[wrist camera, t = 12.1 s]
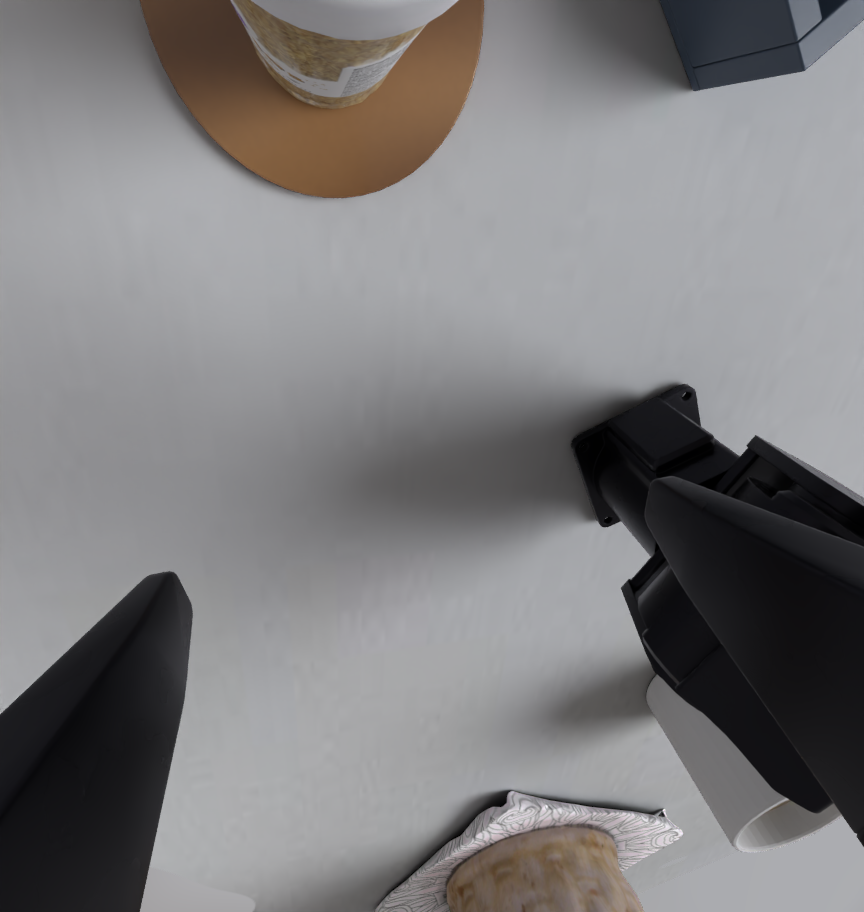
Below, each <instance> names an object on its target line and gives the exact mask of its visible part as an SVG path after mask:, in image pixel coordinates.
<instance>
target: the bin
mask: <svg viewBox="0 0 864 912" xmlns="http://www.w3.org/2000/svg"><path fill="white" fill-rule="evenodd" d="M660 3H661V6H662V8H663V11H664V14H665V16H666V19H667V22H668V24H669V27H670V30H671V32H672V35H673V38H674V40H675V43H676V46H677V48H678V51H679V54H680V57H681V59H682V62H683V65H684V67H685V70H686V73H687V75H688V78H689V81H690V83H691V86H692V89H693V91H698V90H703V89H708V88H714V87H719V86H725V85H730V84H736V83H741V82H747V81H752V80H758V79H764V78H769V77H775V76H780V75H786V74H791V73H797V72H802V71H805V70H806V69H807V68H808V67H810V66H811V65H812V64H813V63H814V62H815V61H816V60H818V59H819V58H820V57H821V56H822V55H823V54H825V53H826V52H827V51H828V50H829V49H830V48H832V47H833V46H834V45H835V44H836V43H837V42H839V41H840V40H841V39H842V38H843V37H844V36H846V35H847V34H848V33H849V32H850V31H851V30H853V29H854V28H855V27H856V26H857V25H858V24H859V23H861V22H862V21H863V20H864V0H660Z"/></svg>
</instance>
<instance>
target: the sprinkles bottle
mask: <svg viewBox="0 0 864 912" xmlns="http://www.w3.org/2000/svg"><path fill="white" fill-rule="evenodd" d="M230 1H231V3H232V5H233V7H234V8H235V10H236V12H237V14H238V16H239V18H240V19H241V21H242V23H243V25H244V27H245V29H246V31H247V32H248V34H249V36H250V38H251V40H252V42H253V46H254V48H255V50H256V53H257V55H258V56H259V58H260V60H261V61H262V63H263V65H264V66H265V68H266V69H267V71H268V72H269V73H270V74H271V75H272V77H273V78H274V79H275V80H276V81H277V82H278V83H279V84H280V85H281V86H282V87H283V88H284V89H285V90H286V91H288V92H289V93H290V94H291V95H293V96H294V97H295V98H297V99H298V100H300V101H302V102H304V103H307V104H310V105H313V106H316V107H319V108H329V109H340V108H344V107H348V106H351V105H356V104H359V103H361V102H363V101H364V100H365V99H366V98H367V97H368V96H369V95H370V94H372V93H373V92H375V91H376V90H377V89H378V88H379V86H380V85H381V84H382V83H383V81H384V80H385V78H386V77H387V75H388V73H389V71H390V70H391V69H392V67H393V66H394V65H395V63H396V62H397V61H398V59H399V58H400V57H401V56H402V54H403V53H404V52H405V50H406V49H407V48H408V47H409V45H410V44H411V43H412V41H413V40H414V39H415V38H416V37H417V35H418V34H419V33H420V32H421V31H422V29H423V28H424V27H425V26H426V25H427V23H428V22H430V21H432V20H433V19H435V18H437V17H438V16H440V15H442V14H443V13H444V12H445V11H447V10H448V9H449V8H450V7H451V6H453V5H454V4H455V3H456V2H457V1H459V0H230Z"/></svg>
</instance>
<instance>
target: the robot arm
mask: <svg viewBox="0 0 864 912" xmlns="http://www.w3.org/2000/svg"><path fill="white" fill-rule="evenodd" d="M685 392H686V394H685V395H684V396H683V397H682V395H683V394H684V393H685ZM681 397H682V398H681ZM582 443H585V444H584V445H583V446H582V447H579V446H580V445H581V444H582ZM747 447H748V448H747V449H746V451H745V452H744V453H743V454H742V455H741V456H739V455H737V454H736V453H734V452H733V451H731V450H730V449H729V448H727V447H726V446H724V445H723V444H722V443H720V442H719V441H717V440H716V439H715V438H714V436H713V435H712V434H710V433H709V432H708V431H706V430H705V429H703V428H702V427H701V424H700V417H699V411H698V404H697V398H696V392H695V389H693V388H692V387H690V386H689V385H687V384H682V385H679V386H677V387H675V388H673V389H671V390H669V391H667V392H665V393H663V394H661V395H659V396H657V397H655V398H653V399H651V400H649V401H647V402H645V403H643V404H641V405H639V406H637V407H635V408H633V409H631V410H629V411H627V412H624V413H622V414H620V415H618V416H616V417H614V418H612V419H610V420H608V421H606V422H604V423H602V424H600V425H598V426H596V427H594V428H592V429H590V430H588V431H586V432H584V433H582V434H580V435H578V436H577V437H575V438H574V439H573V441H572V443H571V448H572V451H573V454H574V457H575V459H576V462H577V465H578V468H579V471H580V474H581V477H582V480H583V482H584V485H585V488H586V491H587V494H588V497H589V500H590V503H591V506H592V508H593V511H594V514H595V517H596V520H597V521H598V523H599V524H600V525H601V526H602V527H609V526H611V525H613V524H615V523H618V522H620V521H622V523H623V524H624V525H625V526H626V527H627V529H628V530H629V531H630V532H631V533H632V535H633V536H634V537H635V538H636V539H637V541H638V542H639V543H640V544H641V545H642V547H643V548H644V549H645V550H646V551H647V553H648V554H649V555H650V556H651V558H650V559H649V560H648V561H647V562H646V564H645V565H644V566H643V567H642V568H641V569H640V570H639V571H638V573H637V574H636V575H635V576H634V577H633V578H632V579H629V580H628V581H627V582H626V583H625V584H624V585H623V586H622V587H621V590H622V592H623V595H624V597H625V600H626V603H627V605H628V608H629V611H630V613H631V616H632V618H633V621H634V624H635V626H636V629H637V631H638V634H639V637H640V639H641V642H642V645H643V647H644V650H645V652H646V654H647V657H648V659H649V661H650V663H651V665H652V668H653V670H654V671H655V673H656V674H657V675H658V676H659V677H661V678H662V679H663V680H664V681H665V682H666V683H667V685H668V686H669V687H670V688H671V689H672V690H673V691H674V692H675V693H676V694H678V695H679V696H680V697H681V698H682V699H683V700H685V701H686V702H687V703H688V704H690V705H691V706H693V707H694V708H695V709H697V710H698V711H700V712H702V713H703V714H704V715H705V716H706V717H707V718H708V719H709V720H711V721H712V722H713V723H714V724H715V725H716V726H717V727H718V728H719V729H720V730H721V731H722V732H723V733H724V734H725V735H726V736H727V737H728V738H729V739H730V740H731V742H732V743H733V744H734V745H735V746H736V747H737V748H738V749H739V750H740V752H741V753H742V754H743V755H744V756H745V757H746V759H747V760H748V761H749V762H750V763H751V764H752V766H753V767H754V768H755V769H756V770H757V771H758V773H759V774H760V775H761V776H762V777H763V779H764V780H765V781H766V782H767V783H768V784H769V786H770V787H771V788H772V789H773V790H775V791H776V792H777V793H779V794H781V795H782V796H784V797H786V798H787V799H789V800H791V801H792V802H794V803H796V804H797V805H799V806H801V807H802V808H804V809H806V810H808V811H810V812H812V813H816V814H819V813H821V812H822V811H824V810H825V809H827V808H828V807H830V806H831V805H833V804H835V806H836V807H837V809H838V810H839V812H840V813H841V814H842V816H843V817H844V819H845V820H846V821H847V823H848V824H849V826H850V827H851V829H852V830H853V831H854V833H857V838H858V839H859V841H860V842H861V843H862V845H863V846H864V498H863V497H862V496H860V495H858V494H857V493H855V492H853V491H852V490H850V489H849V488H847V487H845V486H844V485H842V484H840V483H839V482H837V481H835V480H834V479H832V478H831V477H829V476H827V475H826V474H824V473H822V472H821V471H819V470H817V469H815V468H814V467H812V466H810V465H808V464H807V463H805V462H803V461H801V460H799V459H798V458H796V457H794V456H792V455H790V454H789V453H787V452H785V451H783V450H782V449H780V448H778V447H776V446H774V445H773V444H771V443H769V442H767V441H765V440H764V439H762V438H760V437H758V436H756V435H755V437H754V438H753V439H752V440H751V441H750V442H749V443H748V445H747ZM606 517H607V518H606ZM605 518H606V519H605ZM192 618H193V611H192V605H191V602H190V600H189V598H188V596H187V594H186V592H185V590H184V588H183V586H182V584H181V582H180V580H179V578H178V576H177V575H176V574H175V573H174V572H171V571H168V572H163V573H157V574H152V575H149V576H147V577H146V578H144V579H143V580H142V581H141V582H140V583H139V584H138V585H137V586H136V587H135V588H134V589H133V590H132V591H131V592H129V593H128V594H127V595H126V596H125V597H124V598H123V599H122V600H121V601H120V602H119V603H118V604H117V605H116V606H115V607H114V608H113V609H111V610H110V611H109V612H108V613H107V614H106V615H105V616H104V617H103V618H102V619H101V620H100V621H99V622H98V623H97V624H96V625H95V626H93V627H92V628H91V629H90V630H89V631H88V632H87V633H86V634H85V635H84V636H83V637H82V638H81V639H80V640H79V641H78V642H77V643H75V644H74V645H73V646H72V647H71V648H70V649H69V650H68V651H67V652H66V653H65V654H64V655H63V656H62V657H61V658H60V659H58V660H57V661H56V662H55V663H54V664H53V665H52V666H51V667H50V668H49V669H48V670H47V671H46V672H45V673H44V674H43V675H42V676H40V677H39V678H38V679H37V680H36V681H35V682H34V683H33V684H32V685H31V686H30V687H29V688H28V689H27V690H26V691H25V692H24V693H22V694H21V695H20V696H19V697H18V698H17V699H16V700H15V701H14V702H13V703H12V704H11V705H10V706H9V707H8V708H7V709H5V710H4V711H3V712H2V713H1V714H0V912H140V908H141V903H142V898H143V894H144V889H145V884H146V879H147V874H148V870H149V865H150V861H151V856H152V851H153V846H154V842H155V837H156V832H157V828H158V823H159V818H160V813H161V809H162V804H163V799H164V795H165V790H166V785H167V780H168V776H169V771H170V766H171V762H172V757H173V752H174V747H175V743H176V738H177V733H178V729H179V724H180V719H181V714H182V709H183V704H184V699H185V691H186V682H187V671H188V660H189V650H190V639H191V628H192Z"/></svg>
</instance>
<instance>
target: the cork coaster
mask: <svg viewBox="0 0 864 912" xmlns="http://www.w3.org/2000/svg"><path fill="white" fill-rule="evenodd" d="M140 3H141V8H142V11H143V14H144V18H145V21H146V24H147V27H148V30H149V33H150V37H151V39H152V42H153V44H154V47H155V49H156V51H157V54H158V56H159V58H160V61H161V63H162V65H163V67H164V69H165V71H166V73H167V75H168V77H169V78H170V80H171V82H172V84H173V86H174V88H175V89H176V91H177V93H178V94H179V96H180V97H181V99H182V100H183V102H184V103H185V105H186V106H187V108H188V109H189V111H190V112H191V114H192V115H193V116H194V118H195V119H196V120H197V121H198V122H199V124H200V125H201V126H202V127H203V128H204V130H205V131H206V132H207V133H208V134H209V135H210V137H212V138H213V139H214V140H215V141H216V142H217V143H218V144H219V145H220V146H221V147H222V148H223V149H224V150H225V151H226V152H227V153H228V154H229V155H231V156H232V157H233V158H234V159H236V160H237V161H238V162H240V163H241V164H242V165H243V166H245V167H246V168H247V169H249V170H251V171H252V172H254V173H256V174H257V175H259V176H261V177H262V178H264V179H266V180H268V181H270V182H272V183H274V184H276V185H279V186H281V187H283V188H285V189H288V190H292V191H295V192H298V193H302V194H305V195H311V196H317V197H323V198H347V197H355V196H362V195H366V194H369V193H373V192H376V191H380V190H382V189H384V188H386V187H389V186H391V185H393V184H395V183H397V182H399V181H400V180H402V179H403V178H405V177H407V176H408V175H410V174H411V173H413V172H414V171H415V170H416V169H417V168H419V167H420V166H421V165H422V164H423V163H424V162H426V161H427V160H428V159H429V158H430V156H431V155H432V154H433V153H434V152H435V151H436V150H437V149H438V147H439V146H440V145H441V144H442V143H443V141H444V140H445V138H446V137H447V135H448V134H449V132H450V131H451V129H452V128H453V126H454V124H455V122H456V120H457V119H458V117H459V115H460V113H461V111H462V109H463V107H464V104H465V102H466V99H467V97H468V94H469V91H470V89H471V86H472V83H473V79H474V75H475V72H476V68H477V64H478V60H479V54H480V48H481V41H482V35H483V19H484V0H459V1H457V2H456V3H455V4H454V5H453V6H451V7H450V8H449V9H448V10H447V11H445V12H444V13H443V14H442V15H440V16H438V17H437V18H435V19H433V20H432V21H430V22H428V23H427V25H426V26H425V27H424V28H423V29H422V31H421V32H420V33H419V34H418V35H417V37H416V38H415V39H414V40H413V41H412V43H411V44H410V45H409V47H408V48H407V49H406V50H405V52H404V53H403V54H402V56H401V57H400V58H399V59H398V61H397V62H396V63H395V65H394V66H393V67H392V69H391V70H390V71H389V73H388V75H387V77H386V78H385V80H384V81H383V83H382V84H381V85H380V86H379V88H378V89H377V90H376V91H375V92H373V93H372V94H370V95H369V96H368V97H367V98H366V99H365V100H364V101H363V102H361V103H359V104H356V105H351V106H348V107H344V108H340V109H329V108H319V107H316V106H313V105H310V104H307V103H304V102H302V101H300V100H298V99H297V98H295V97H294V96H293V95H291V94H290V93H289V92H288V91H286V90H285V89H284V88H283V87H282V86H281V85H280V84H279V83H278V82H277V81H276V80H275V79H274V78H273V77H272V75H271V74H270V73H269V72H268V71H267V69H266V68H265V66H264V65H263V63H262V61H261V60H260V58H259V56H258V55H257V53H256V50H255V48H254V46H253V42H252V40H251V38H250V36H249V34H248V32H247V31H246V29H245V27H244V25H243V23H242V21H241V19H240V18H239V16H238V14H237V12H236V10H235V8H234V7H233V5H232V3H231V1H230V0H140Z"/></svg>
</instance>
